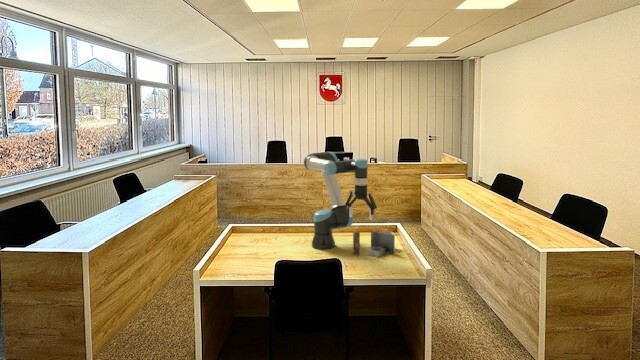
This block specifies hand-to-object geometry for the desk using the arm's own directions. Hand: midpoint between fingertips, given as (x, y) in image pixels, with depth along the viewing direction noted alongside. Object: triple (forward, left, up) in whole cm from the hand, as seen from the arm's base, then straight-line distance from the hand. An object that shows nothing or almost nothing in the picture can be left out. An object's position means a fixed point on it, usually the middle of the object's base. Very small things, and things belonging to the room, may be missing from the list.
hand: (360, 218), depth 325 cm
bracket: (+9, +6, -23) cm, 25 cm away
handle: (-2, -2, -23) cm, 23 cm away
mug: (+5, +18, -23) cm, 29 cm away
